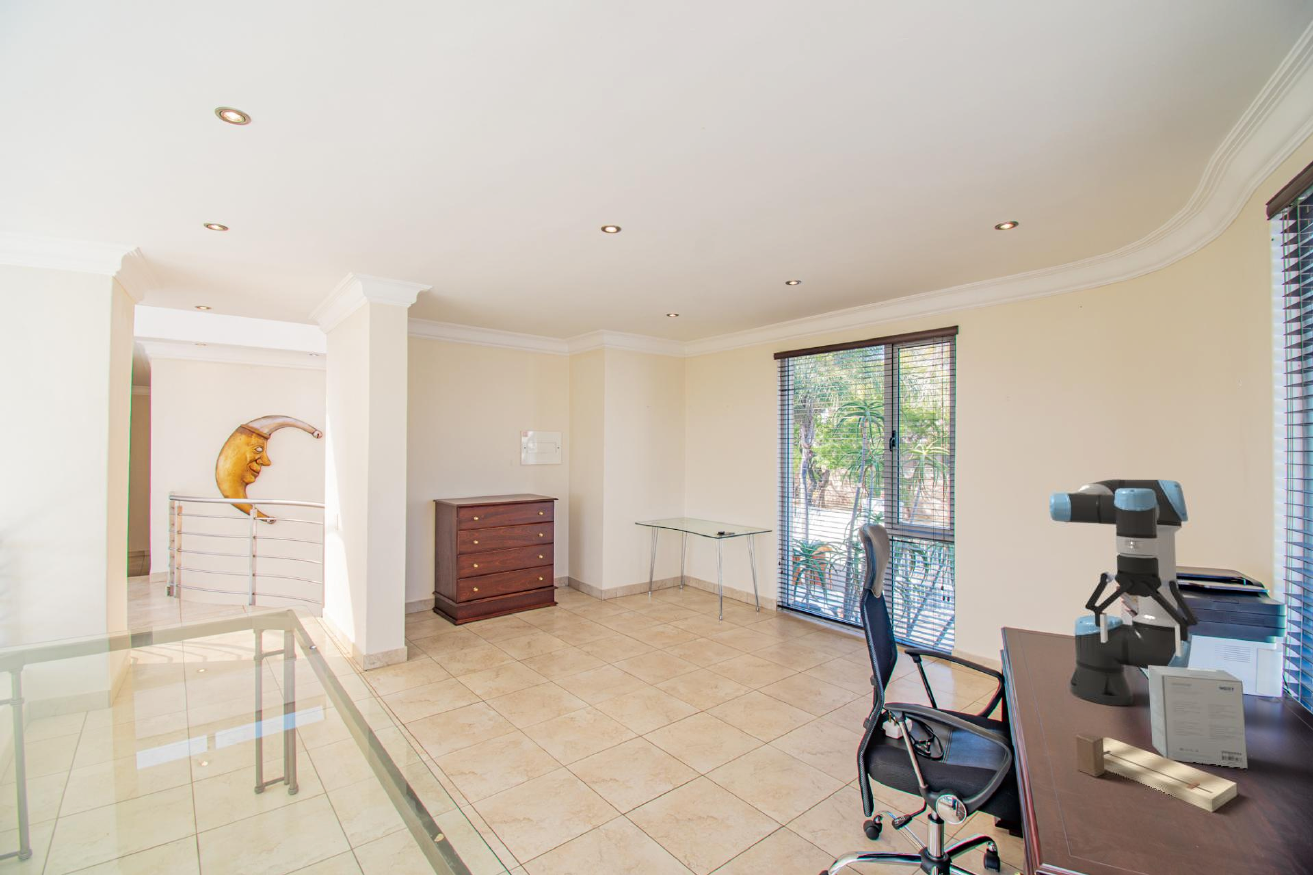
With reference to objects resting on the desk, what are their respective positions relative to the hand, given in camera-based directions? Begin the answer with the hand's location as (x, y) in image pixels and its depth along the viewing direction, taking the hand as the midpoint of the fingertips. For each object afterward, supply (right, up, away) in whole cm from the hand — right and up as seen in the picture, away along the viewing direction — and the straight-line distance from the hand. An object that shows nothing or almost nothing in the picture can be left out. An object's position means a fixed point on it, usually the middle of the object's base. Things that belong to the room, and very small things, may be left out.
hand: (1140, 648), depth 137 cm
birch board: (0, -27, -4) cm, 28 cm away
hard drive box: (+17, -28, +4) cm, 33 cm away
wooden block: (-13, -28, -2) cm, 31 cm away
